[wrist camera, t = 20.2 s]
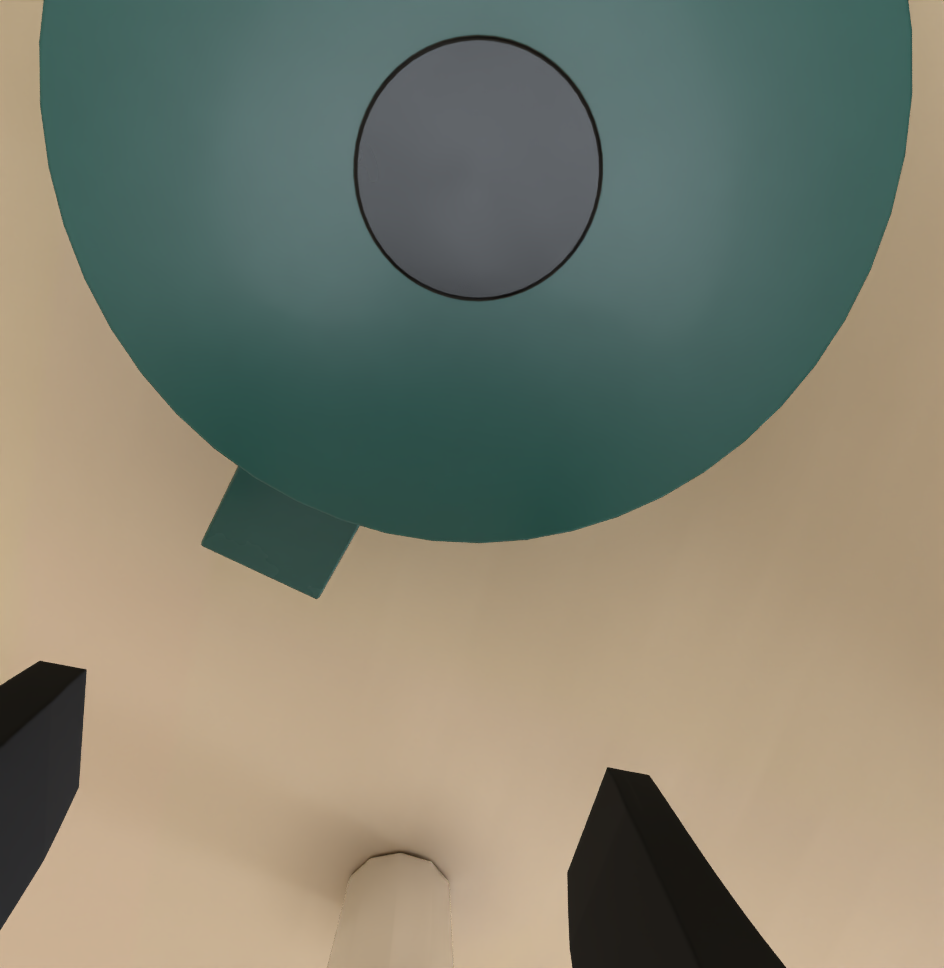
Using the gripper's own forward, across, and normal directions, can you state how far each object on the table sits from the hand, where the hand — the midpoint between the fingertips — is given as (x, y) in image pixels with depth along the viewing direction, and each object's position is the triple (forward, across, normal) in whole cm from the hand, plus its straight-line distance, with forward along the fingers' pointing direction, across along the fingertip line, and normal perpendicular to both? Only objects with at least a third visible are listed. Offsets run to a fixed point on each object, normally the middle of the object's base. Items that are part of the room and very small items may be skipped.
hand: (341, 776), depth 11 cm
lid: (+4, 0, -8) cm, 9 cm away
